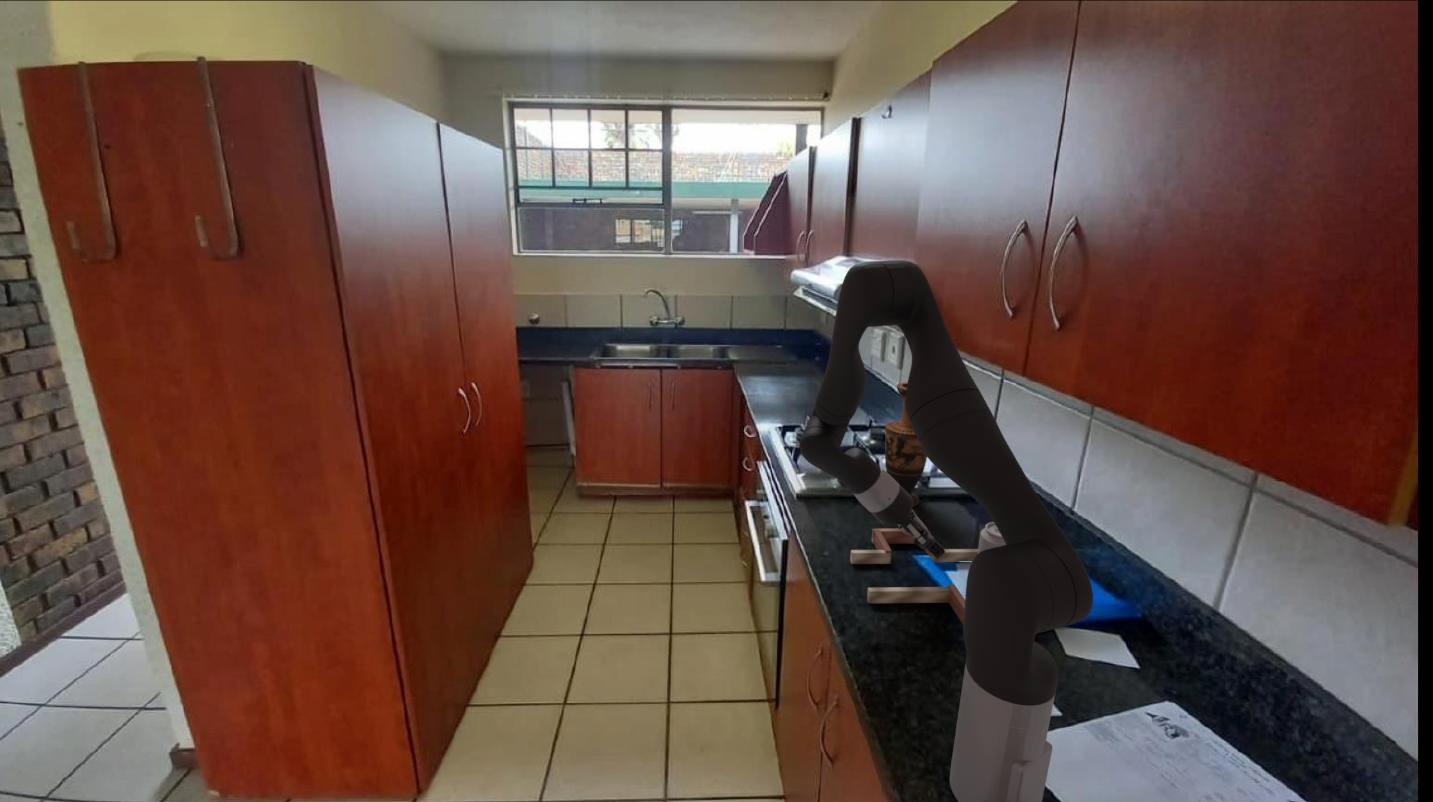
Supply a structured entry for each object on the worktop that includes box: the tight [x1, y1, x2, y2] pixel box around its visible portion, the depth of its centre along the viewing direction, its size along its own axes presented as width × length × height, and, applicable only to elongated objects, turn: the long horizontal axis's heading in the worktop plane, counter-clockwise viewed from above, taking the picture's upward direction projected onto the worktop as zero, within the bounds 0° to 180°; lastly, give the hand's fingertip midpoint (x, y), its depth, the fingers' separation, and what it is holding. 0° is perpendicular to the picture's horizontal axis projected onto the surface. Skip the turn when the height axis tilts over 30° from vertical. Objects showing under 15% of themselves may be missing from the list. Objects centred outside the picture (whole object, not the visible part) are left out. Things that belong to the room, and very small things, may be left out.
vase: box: [884, 382, 928, 508], centre depth 144 cm, size 11×11×30 cm
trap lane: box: [849, 527, 978, 625], centre depth 114 cm, size 33×30×3 cm
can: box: [977, 521, 1006, 553], centre depth 112 cm, size 8×8×12 cm
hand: (939, 553), depth 113 cm, fingers closed
